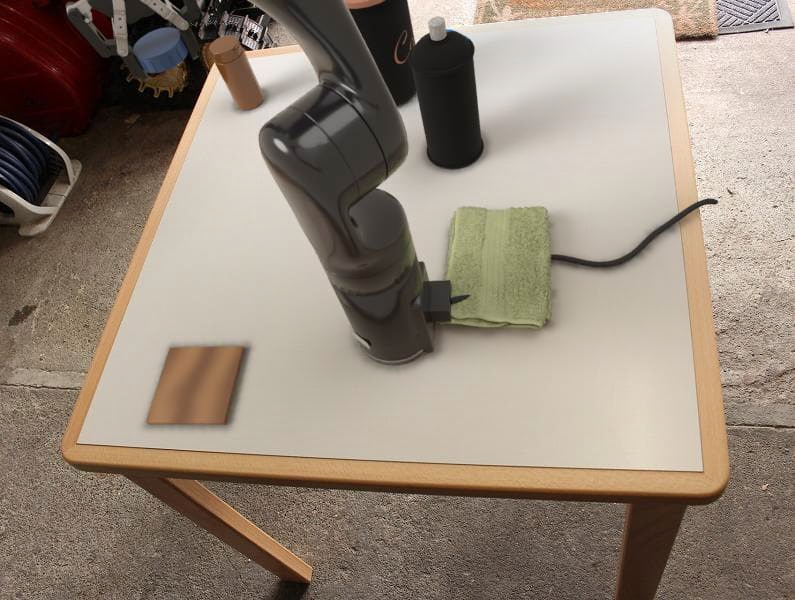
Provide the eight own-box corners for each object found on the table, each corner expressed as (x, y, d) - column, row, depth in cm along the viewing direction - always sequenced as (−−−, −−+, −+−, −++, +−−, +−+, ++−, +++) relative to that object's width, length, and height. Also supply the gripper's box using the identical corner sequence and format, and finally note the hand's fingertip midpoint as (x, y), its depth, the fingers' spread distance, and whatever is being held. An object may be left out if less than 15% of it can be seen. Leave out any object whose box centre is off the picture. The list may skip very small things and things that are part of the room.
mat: (245, 348, 75) (243, 345, 75) (226, 424, 70) (223, 422, 69) (171, 349, 77) (169, 347, 77) (147, 424, 72) (145, 422, 72)
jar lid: (156, 42, 77) (148, 27, 75) (197, 42, 75) (189, 26, 73) (132, 73, 74) (123, 58, 72) (174, 73, 72) (165, 58, 70)
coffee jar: (416, 111, 94) (393, 0, 79) (350, 112, 97) (317, 5, 82) (427, 66, 99) (408, -45, 85) (365, 69, 102) (336, -39, 87)
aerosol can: (475, 172, 84) (460, 44, 68) (419, 166, 87) (392, 41, 71) (490, 131, 88) (479, 0, 72) (436, 127, 91) (413, 0, 75)
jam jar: (266, 89, 104) (241, 32, 95) (261, 108, 102) (235, 51, 93) (239, 92, 105) (212, 36, 96) (233, 112, 102) (205, 56, 94)
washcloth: (437, 332, 71) (433, 317, 69) (452, 216, 81) (449, 200, 78) (552, 336, 68) (553, 321, 66) (554, 215, 78) (555, 198, 75)
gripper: (21, -36, 59) (120, 106, 72) (159, -94, 60) (231, 56, 74) (18, -64, 63) (111, 75, 77) (147, -117, 64) (216, 29, 78)
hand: (169, 65), depth 75 cm, fingers closed on jar lid, 6 cm apart
